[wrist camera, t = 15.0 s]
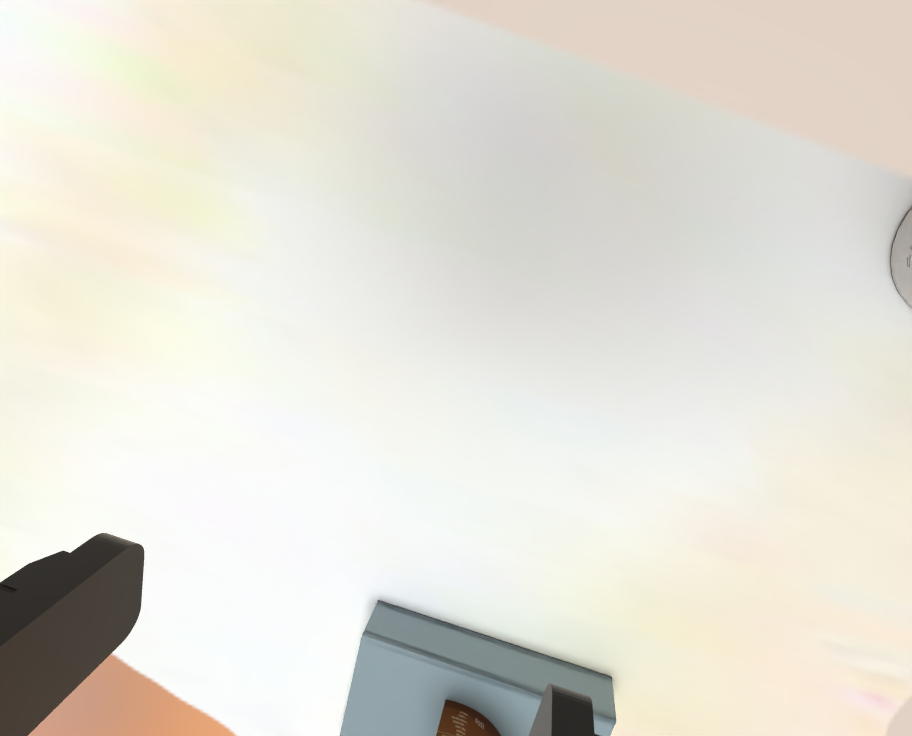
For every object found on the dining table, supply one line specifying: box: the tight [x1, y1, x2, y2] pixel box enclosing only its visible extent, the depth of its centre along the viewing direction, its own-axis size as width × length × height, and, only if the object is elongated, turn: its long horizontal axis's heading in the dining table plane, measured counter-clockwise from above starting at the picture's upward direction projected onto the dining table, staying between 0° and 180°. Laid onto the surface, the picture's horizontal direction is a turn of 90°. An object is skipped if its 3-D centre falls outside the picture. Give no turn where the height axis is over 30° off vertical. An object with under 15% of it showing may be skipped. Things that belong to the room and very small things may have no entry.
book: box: [340, 600, 616, 736], centre depth 46 cm, size 20×15×4 cm
